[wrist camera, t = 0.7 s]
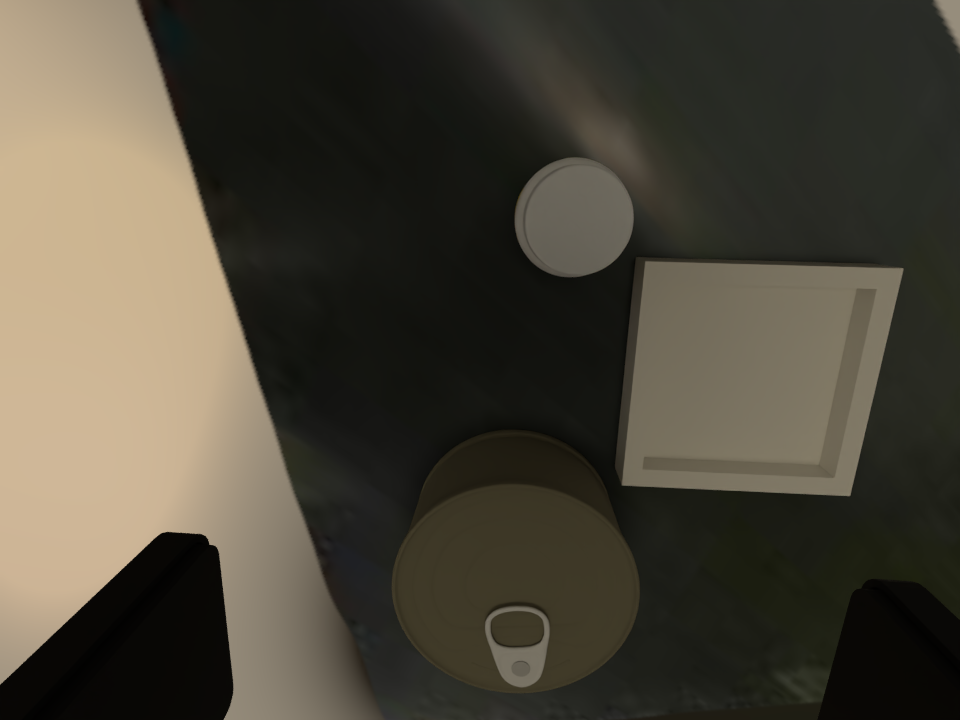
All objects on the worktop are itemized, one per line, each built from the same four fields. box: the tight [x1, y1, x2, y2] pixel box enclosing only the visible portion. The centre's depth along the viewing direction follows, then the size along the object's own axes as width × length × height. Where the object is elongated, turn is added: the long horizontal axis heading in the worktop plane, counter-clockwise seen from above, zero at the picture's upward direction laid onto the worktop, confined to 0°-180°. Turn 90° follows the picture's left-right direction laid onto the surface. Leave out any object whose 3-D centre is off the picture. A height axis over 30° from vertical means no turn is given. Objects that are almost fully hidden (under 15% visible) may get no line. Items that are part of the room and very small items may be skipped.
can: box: [392, 430, 640, 693], centre depth 30 cm, size 12×12×7 cm
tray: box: [615, 257, 904, 496], centre depth 29 cm, size 12×12×2 cm
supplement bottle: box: [514, 157, 634, 277], centre depth 24 cm, size 5×5×8 cm
